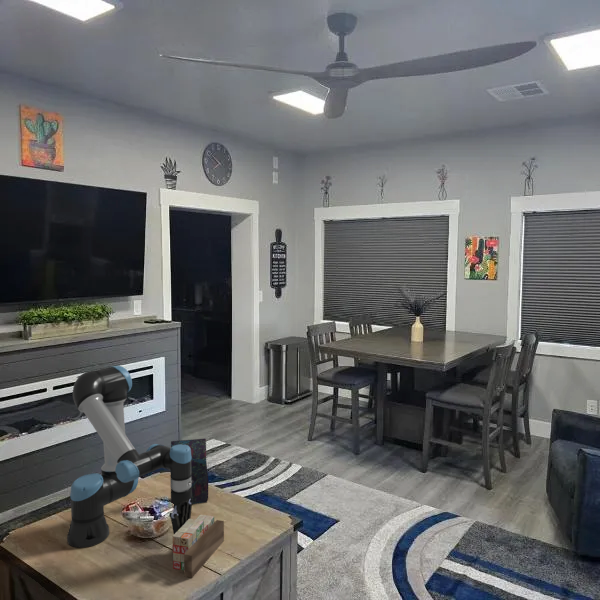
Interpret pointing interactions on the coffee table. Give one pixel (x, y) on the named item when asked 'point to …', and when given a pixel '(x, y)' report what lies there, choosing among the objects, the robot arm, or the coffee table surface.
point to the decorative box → (197, 469)
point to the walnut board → (203, 548)
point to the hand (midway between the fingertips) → (182, 549)
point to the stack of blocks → (189, 537)
